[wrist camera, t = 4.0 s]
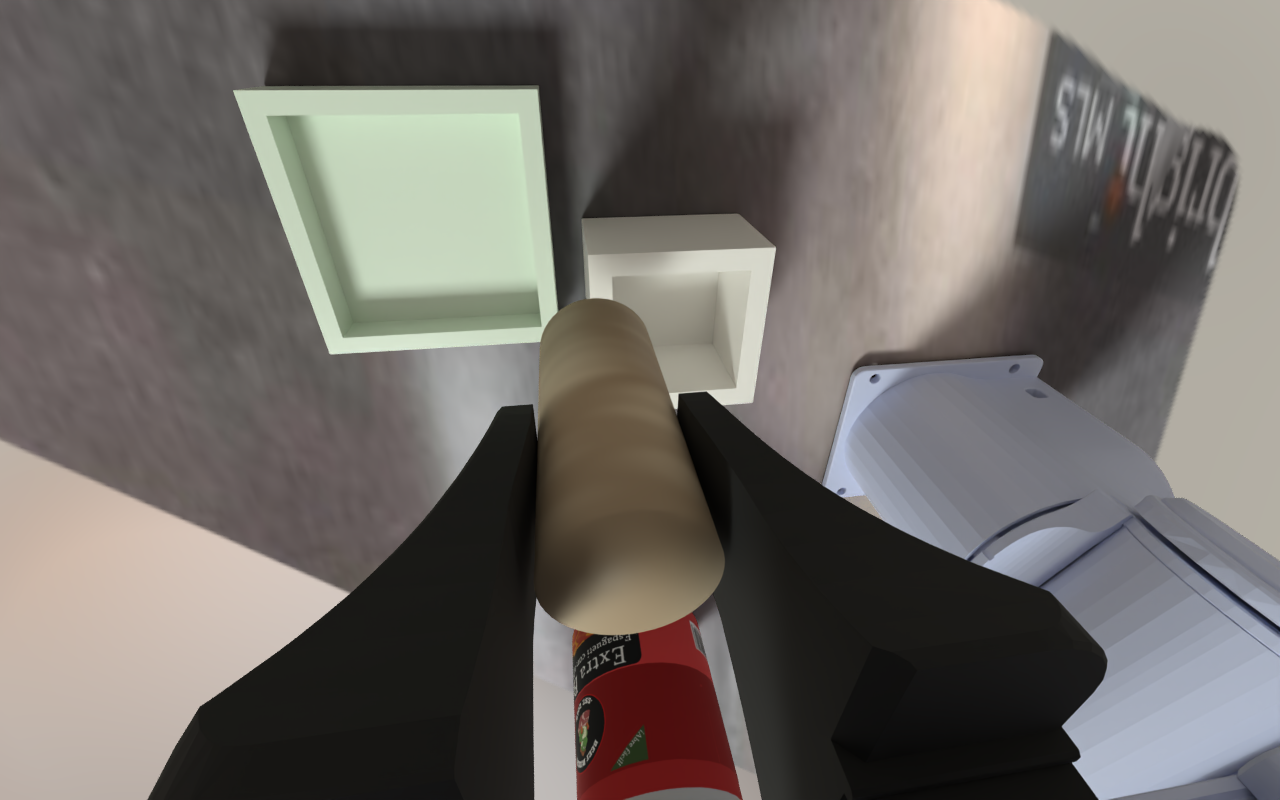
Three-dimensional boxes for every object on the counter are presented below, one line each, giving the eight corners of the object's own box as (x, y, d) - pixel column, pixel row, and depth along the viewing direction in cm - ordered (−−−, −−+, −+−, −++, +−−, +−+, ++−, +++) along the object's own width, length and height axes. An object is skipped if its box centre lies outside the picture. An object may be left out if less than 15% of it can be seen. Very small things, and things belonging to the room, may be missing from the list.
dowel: (650, 295, 14) (734, 500, 8) (649, 391, 15) (716, 622, 9) (534, 301, 13) (522, 521, 7) (545, 399, 15) (543, 645, 9)
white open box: (738, 213, 20) (775, 247, 16) (723, 351, 23) (752, 402, 20) (581, 218, 19) (587, 254, 16) (589, 359, 22) (596, 414, 19)
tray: (538, 85, 16) (537, 89, 15) (559, 319, 21) (559, 340, 19) (263, 85, 16) (232, 90, 14) (346, 331, 20) (330, 354, 18)
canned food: (608, 570, 30) (634, 798, 21) (719, 601, 33) (783, 811, 24) (549, 645, 33) (548, 871, 24) (655, 667, 36) (689, 874, 27)
